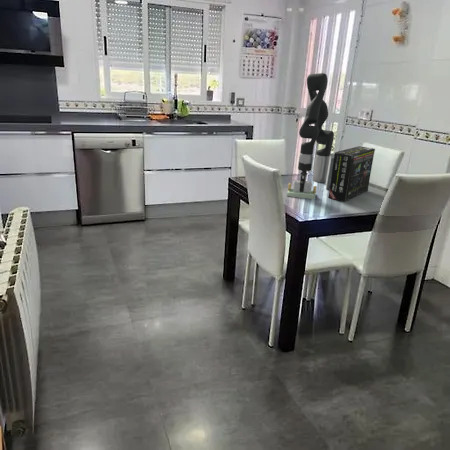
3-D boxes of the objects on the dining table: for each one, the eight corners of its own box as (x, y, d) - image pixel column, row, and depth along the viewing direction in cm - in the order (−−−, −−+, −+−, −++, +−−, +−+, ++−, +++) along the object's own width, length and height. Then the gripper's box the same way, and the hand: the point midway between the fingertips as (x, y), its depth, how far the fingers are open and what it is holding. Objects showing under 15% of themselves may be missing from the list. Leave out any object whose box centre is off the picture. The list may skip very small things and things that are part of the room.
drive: (292, 190, 234) (293, 179, 231) (309, 191, 233) (311, 181, 231) (293, 192, 229) (294, 182, 227) (310, 193, 228) (311, 183, 226)
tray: (288, 191, 238) (289, 181, 236) (315, 194, 235) (317, 184, 233) (286, 195, 228) (287, 185, 226) (315, 199, 225) (316, 188, 223)
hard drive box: (338, 190, 245) (343, 158, 238) (326, 189, 247) (330, 157, 240) (337, 184, 260) (342, 154, 253) (325, 183, 261) (329, 153, 254)
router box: (351, 187, 255) (358, 145, 246) (368, 191, 249) (376, 148, 240) (326, 198, 229) (333, 151, 220) (344, 202, 223) (353, 154, 213)
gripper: (299, 158, 232) (296, 186, 238) (297, 163, 219) (294, 193, 225) (312, 160, 230) (308, 188, 236) (311, 164, 217) (307, 194, 223)
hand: (301, 190), depth 231 cm, fingers closed on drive, 5 cm apart
